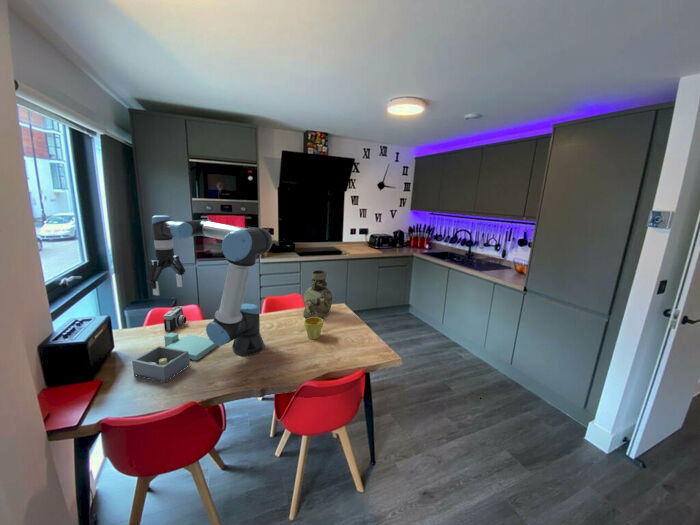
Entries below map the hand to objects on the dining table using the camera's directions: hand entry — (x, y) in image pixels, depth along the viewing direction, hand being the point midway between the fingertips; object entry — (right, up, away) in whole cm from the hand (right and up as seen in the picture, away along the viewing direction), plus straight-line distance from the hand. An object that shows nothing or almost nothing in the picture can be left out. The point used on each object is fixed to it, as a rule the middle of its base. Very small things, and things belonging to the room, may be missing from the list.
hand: (168, 290), depth 141 cm
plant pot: (+69, -28, +20) cm, 77 cm away
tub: (+8, -33, -16) cm, 38 cm away
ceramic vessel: (+68, -22, +48) cm, 86 cm away
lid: (+8, -30, +2) cm, 31 cm away
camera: (-11, -23, +26) cm, 36 cm away
